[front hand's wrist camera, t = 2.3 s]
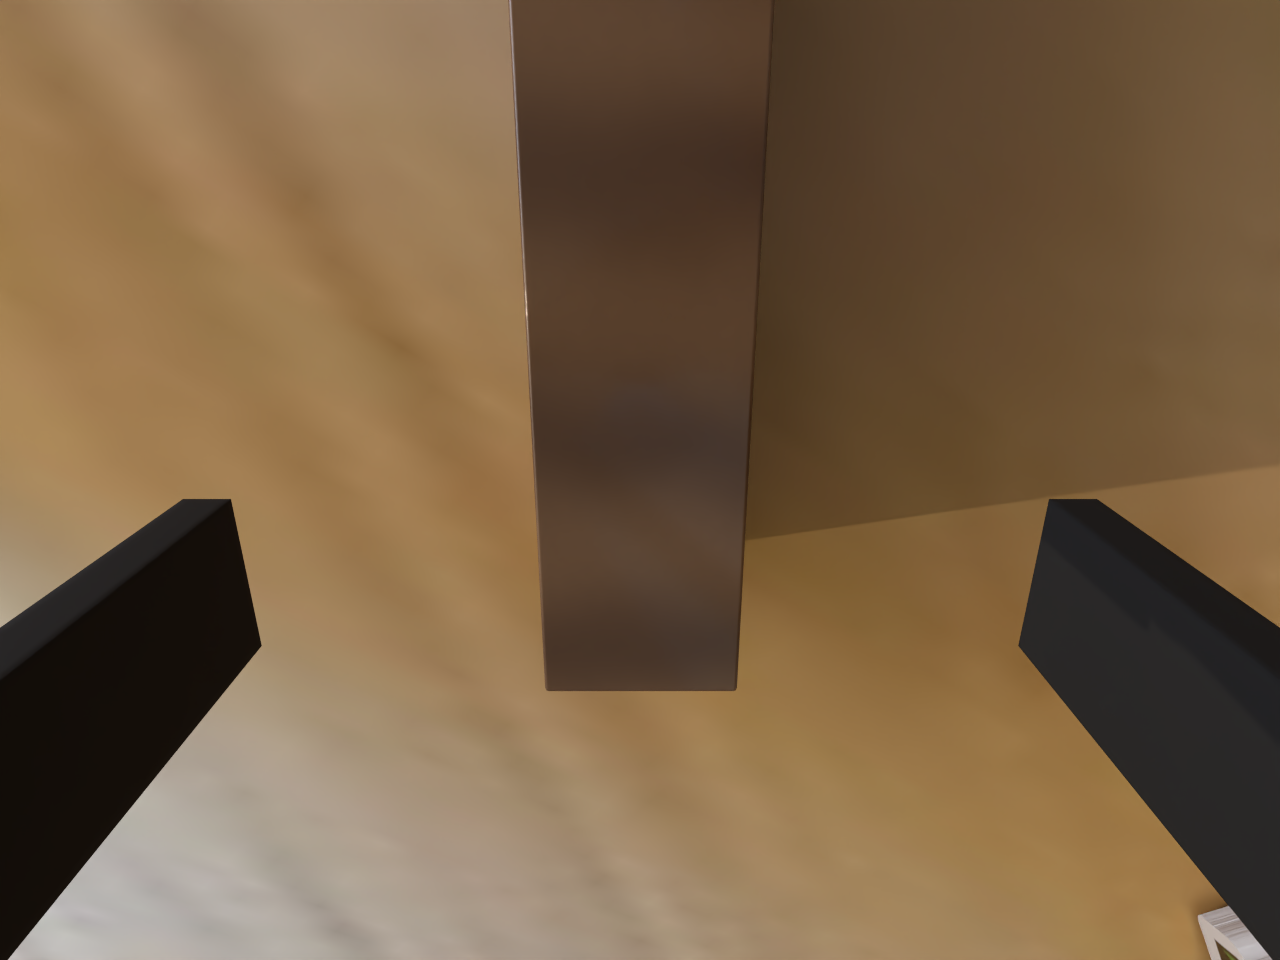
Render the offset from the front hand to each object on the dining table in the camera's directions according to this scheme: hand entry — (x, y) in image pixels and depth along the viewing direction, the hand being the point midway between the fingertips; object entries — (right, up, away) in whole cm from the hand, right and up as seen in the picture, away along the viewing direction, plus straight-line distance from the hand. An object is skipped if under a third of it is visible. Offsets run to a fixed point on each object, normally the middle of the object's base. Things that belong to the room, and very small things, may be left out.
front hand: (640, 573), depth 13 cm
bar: (0, +31, +2) cm, 31 cm away
